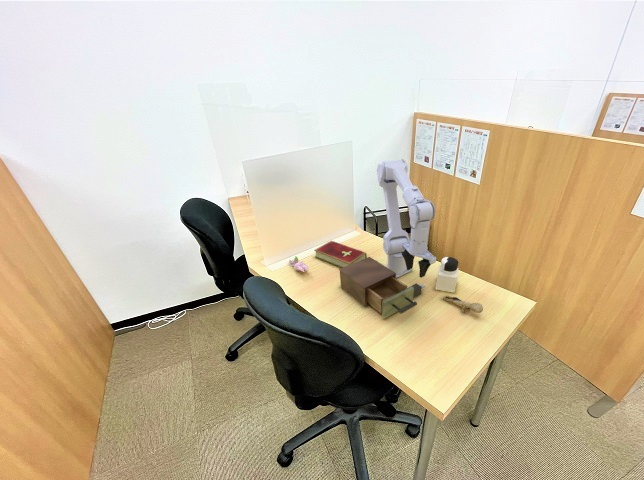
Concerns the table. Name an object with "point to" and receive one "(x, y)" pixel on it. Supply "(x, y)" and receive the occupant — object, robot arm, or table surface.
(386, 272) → the cabinet
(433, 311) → the table surface
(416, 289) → the black block with tip
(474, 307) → the figurine
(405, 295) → the drawer
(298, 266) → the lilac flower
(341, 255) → the hardcover book
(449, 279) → the ball on square pedestal
